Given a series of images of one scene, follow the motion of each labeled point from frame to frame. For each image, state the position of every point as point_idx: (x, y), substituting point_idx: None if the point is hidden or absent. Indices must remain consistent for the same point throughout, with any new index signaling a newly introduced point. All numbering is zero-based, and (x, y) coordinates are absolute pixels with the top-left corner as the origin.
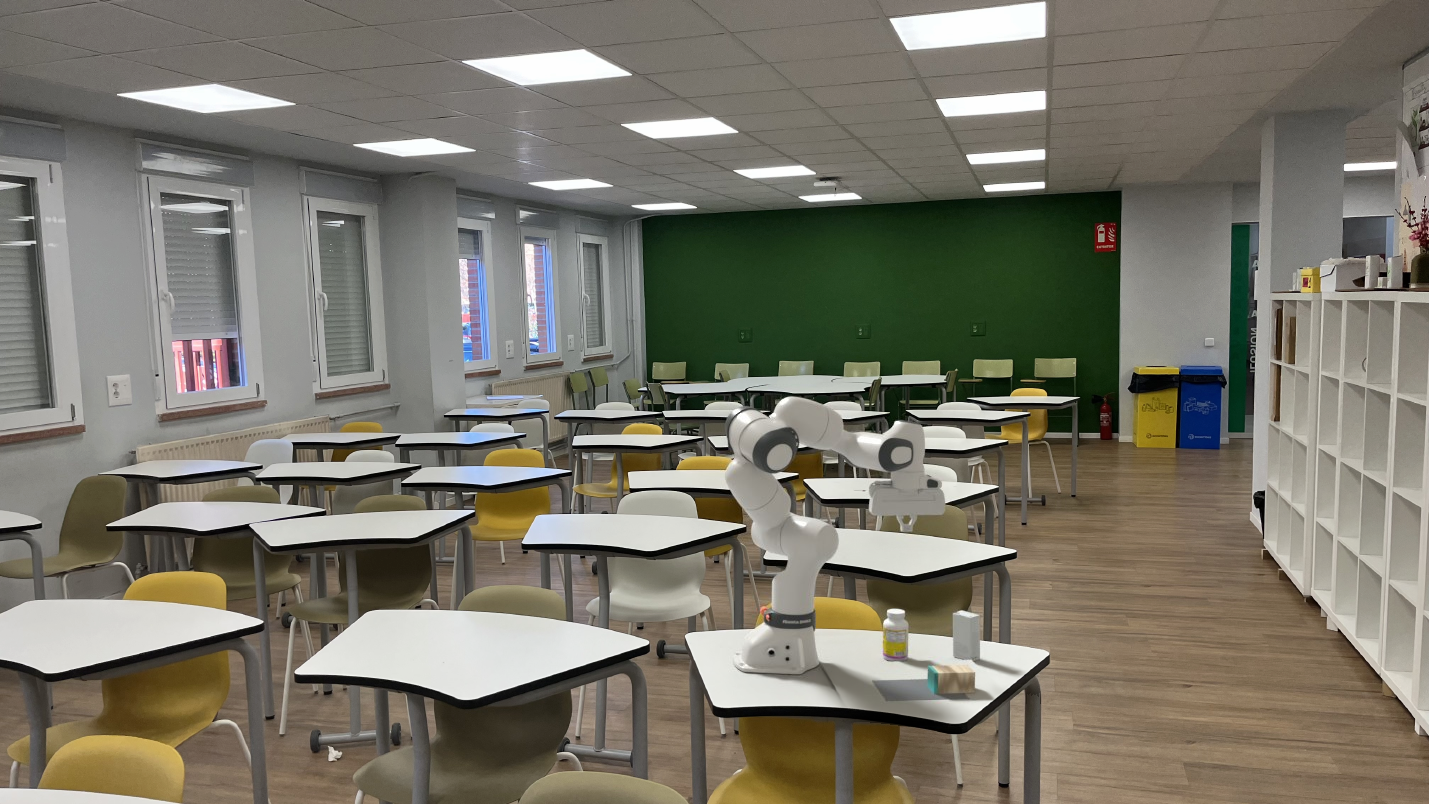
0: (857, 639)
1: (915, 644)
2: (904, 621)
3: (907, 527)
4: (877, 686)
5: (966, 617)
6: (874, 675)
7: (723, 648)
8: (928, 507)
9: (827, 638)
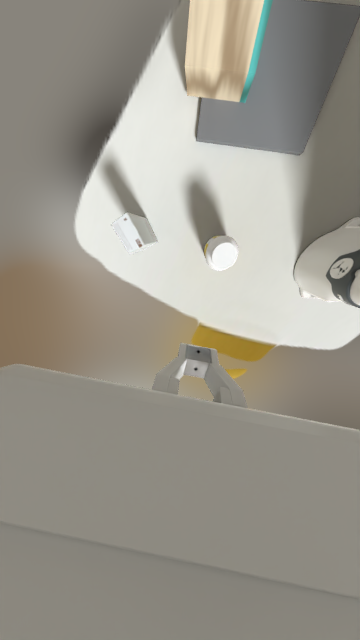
0: (222, 306)
1: (178, 283)
2: (214, 246)
3: (198, 354)
4: (316, 116)
5: (131, 220)
6: (271, 195)
7: (354, 313)
8: (53, 426)
9: (245, 314)
